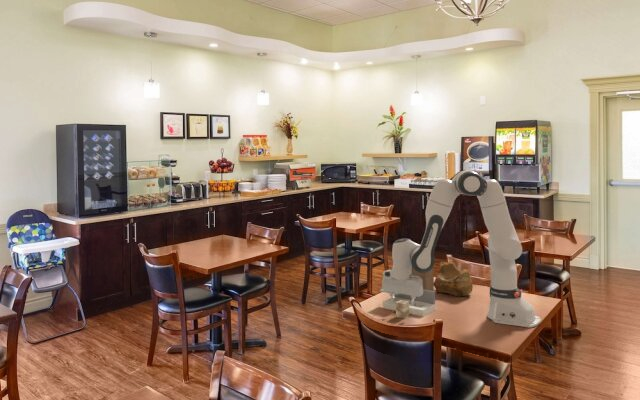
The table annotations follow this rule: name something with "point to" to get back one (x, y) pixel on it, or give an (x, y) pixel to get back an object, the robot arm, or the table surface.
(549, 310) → the table surface
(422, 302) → the puzzle board
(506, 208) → the robot arm
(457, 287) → the rough brown rock
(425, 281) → the wooden block
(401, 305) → the birch block
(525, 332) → the table surface
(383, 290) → the slide lid
